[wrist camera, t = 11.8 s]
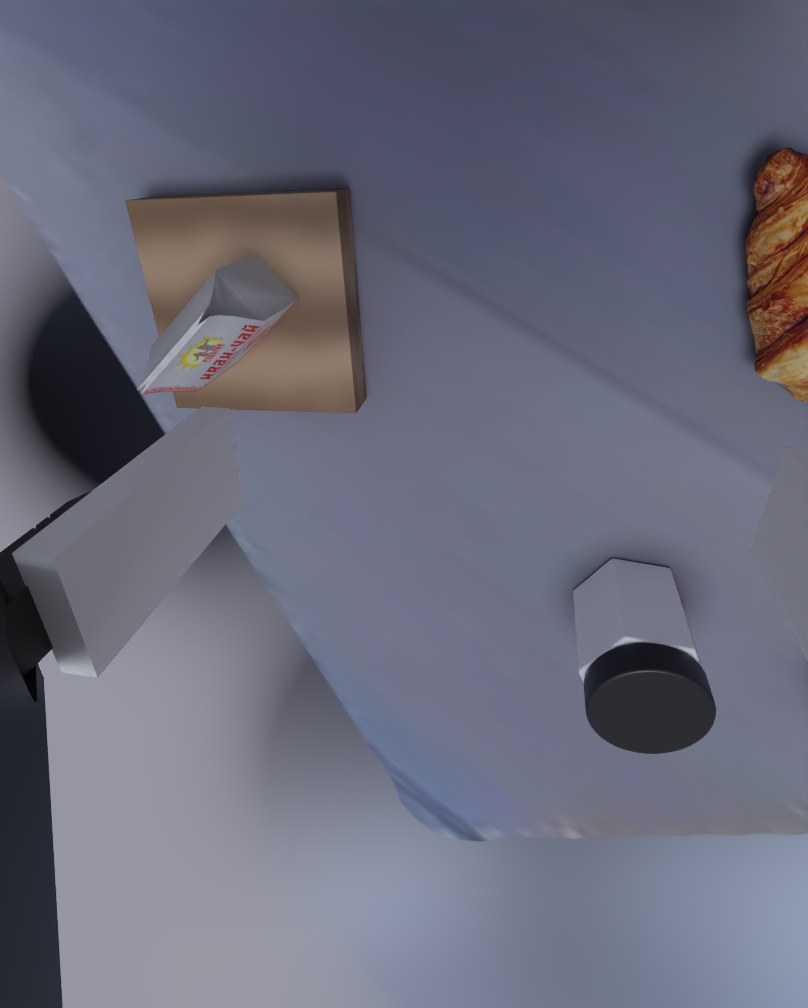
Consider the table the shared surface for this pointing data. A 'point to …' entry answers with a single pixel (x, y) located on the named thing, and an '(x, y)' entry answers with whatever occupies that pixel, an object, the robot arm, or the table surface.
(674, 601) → the jar
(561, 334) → the table surface
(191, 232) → the pedestal
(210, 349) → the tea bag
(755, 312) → the croissant
